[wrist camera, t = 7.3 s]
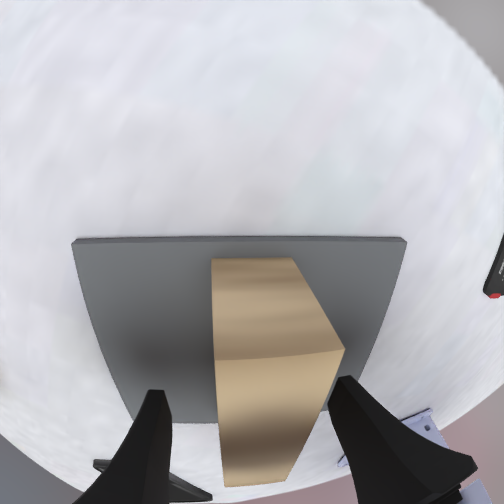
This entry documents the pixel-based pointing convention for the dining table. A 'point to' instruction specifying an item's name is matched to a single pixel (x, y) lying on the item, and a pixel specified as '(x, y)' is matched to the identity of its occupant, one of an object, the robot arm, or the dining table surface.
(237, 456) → the oak domino
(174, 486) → the phone
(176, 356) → the rubber mat
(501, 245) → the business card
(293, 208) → the dining table surface
